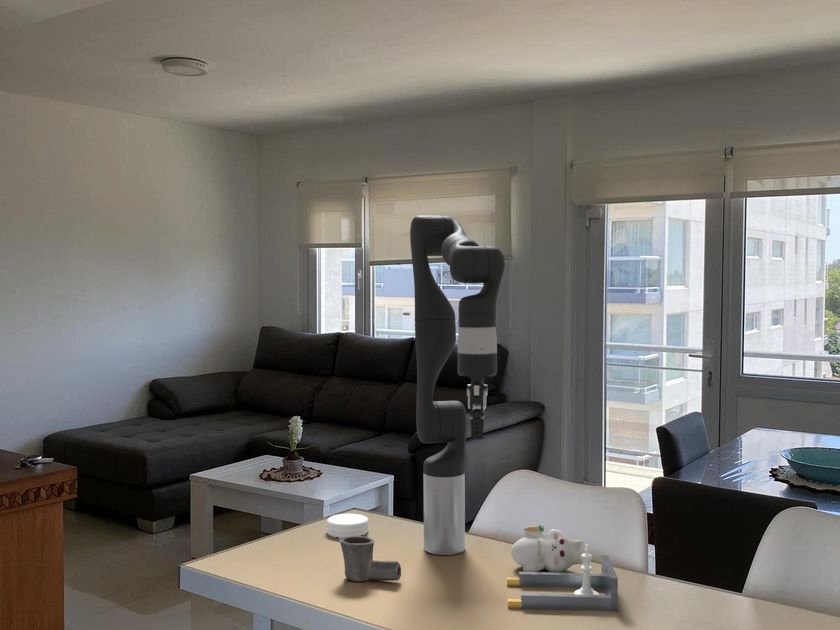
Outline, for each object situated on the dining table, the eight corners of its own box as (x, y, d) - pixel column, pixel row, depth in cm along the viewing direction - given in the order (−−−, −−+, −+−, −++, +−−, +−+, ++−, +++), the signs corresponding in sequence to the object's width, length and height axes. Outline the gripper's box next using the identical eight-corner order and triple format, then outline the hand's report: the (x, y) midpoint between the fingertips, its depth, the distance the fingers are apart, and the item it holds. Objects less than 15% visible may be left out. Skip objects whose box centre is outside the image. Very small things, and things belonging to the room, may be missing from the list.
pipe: (395, 588, 153) (394, 547, 153) (334, 582, 157) (333, 542, 157) (404, 577, 159) (404, 538, 159) (345, 571, 163) (344, 533, 162)
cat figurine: (506, 523, 164) (579, 520, 159) (516, 533, 171) (585, 531, 166) (506, 569, 160) (580, 569, 155) (515, 578, 166) (587, 578, 161)
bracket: (506, 583, 155) (506, 553, 155) (607, 586, 154) (607, 555, 153) (507, 607, 143) (507, 575, 143) (617, 611, 142) (617, 578, 141)
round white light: (318, 533, 189) (318, 519, 189) (347, 524, 197) (347, 510, 197) (347, 542, 183) (347, 527, 183) (377, 532, 190) (377, 517, 190)
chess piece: (601, 594, 150) (601, 542, 149) (598, 604, 145) (598, 550, 145) (575, 591, 151) (575, 539, 151) (571, 600, 147) (571, 547, 146)
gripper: (497, 353, 143) (497, 442, 144) (496, 348, 157) (496, 429, 158) (455, 353, 144) (456, 441, 144) (459, 348, 158) (459, 428, 159)
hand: (477, 435), depth 151 cm, fingers open, 8 cm apart
